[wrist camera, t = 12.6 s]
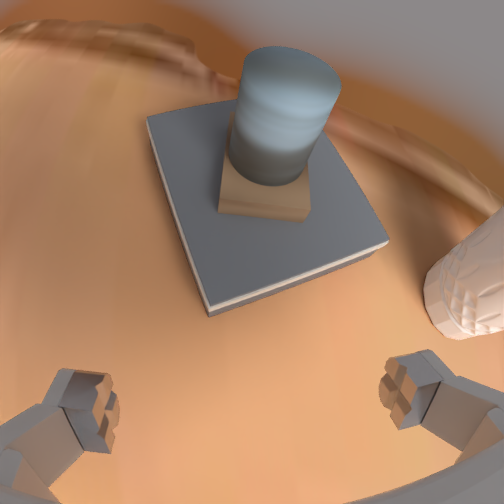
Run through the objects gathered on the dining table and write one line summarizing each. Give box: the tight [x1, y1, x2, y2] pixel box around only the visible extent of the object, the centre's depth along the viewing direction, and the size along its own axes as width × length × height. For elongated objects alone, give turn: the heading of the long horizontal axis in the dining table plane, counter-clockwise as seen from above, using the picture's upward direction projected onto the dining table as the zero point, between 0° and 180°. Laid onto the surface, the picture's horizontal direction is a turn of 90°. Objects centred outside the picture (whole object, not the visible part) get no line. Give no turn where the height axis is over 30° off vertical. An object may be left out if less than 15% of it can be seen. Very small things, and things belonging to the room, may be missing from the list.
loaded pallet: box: [218, 46, 341, 223], centre depth 17 cm, size 7×5×8 cm
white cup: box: [423, 206, 504, 340], centre depth 18 cm, size 8×8×10 cm
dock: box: [146, 99, 389, 317], centre depth 21 cm, size 14×12×3 cm
